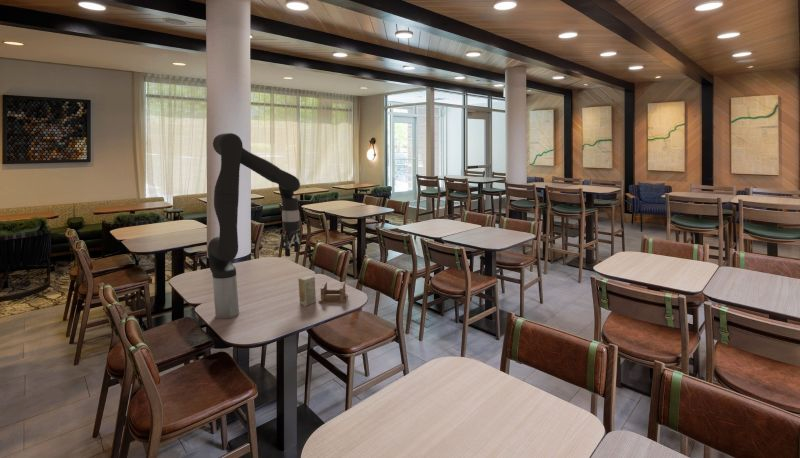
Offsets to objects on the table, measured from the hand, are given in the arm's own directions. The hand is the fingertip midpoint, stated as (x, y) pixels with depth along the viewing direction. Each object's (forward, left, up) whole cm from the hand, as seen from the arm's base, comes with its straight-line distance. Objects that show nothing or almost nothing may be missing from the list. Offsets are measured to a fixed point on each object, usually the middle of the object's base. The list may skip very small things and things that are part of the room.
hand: (292, 254), depth 200 cm
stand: (-3, -19, -21) cm, 28 cm away
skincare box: (-8, -8, -21) cm, 24 cm away
